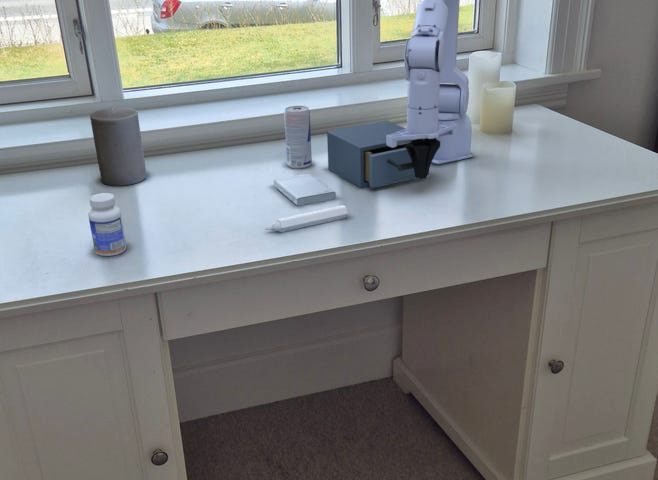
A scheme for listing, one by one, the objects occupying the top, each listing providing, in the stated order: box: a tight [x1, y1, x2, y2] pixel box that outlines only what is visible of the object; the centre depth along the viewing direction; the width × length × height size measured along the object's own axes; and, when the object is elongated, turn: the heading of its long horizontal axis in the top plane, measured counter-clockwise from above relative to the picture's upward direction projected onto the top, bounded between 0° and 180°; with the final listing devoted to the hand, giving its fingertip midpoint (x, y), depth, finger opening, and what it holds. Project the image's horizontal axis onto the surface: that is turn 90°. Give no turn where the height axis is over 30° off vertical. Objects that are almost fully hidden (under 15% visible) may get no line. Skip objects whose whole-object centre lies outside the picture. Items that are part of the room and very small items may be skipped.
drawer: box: [364, 144, 430, 189], centre depth 166 cm, size 18×13×6 cm
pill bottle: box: [87, 192, 127, 257], centre depth 140 cm, size 5×5×10 cm
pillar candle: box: [89, 106, 148, 187], centre depth 171 cm, size 10×10×15 cm
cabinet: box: [326, 120, 407, 189], centre depth 171 cm, size 14×15×8 cm
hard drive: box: [273, 173, 337, 206], centre depth 163 cm, size 2×8×12 cm
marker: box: [264, 204, 349, 233], centre depth 149 cm, size 3×2×16 cm
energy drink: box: [283, 105, 313, 169], centre depth 176 cm, size 5×5×12 cm
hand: (421, 177), depth 158 cm, fingers closed, pressing on drawer
